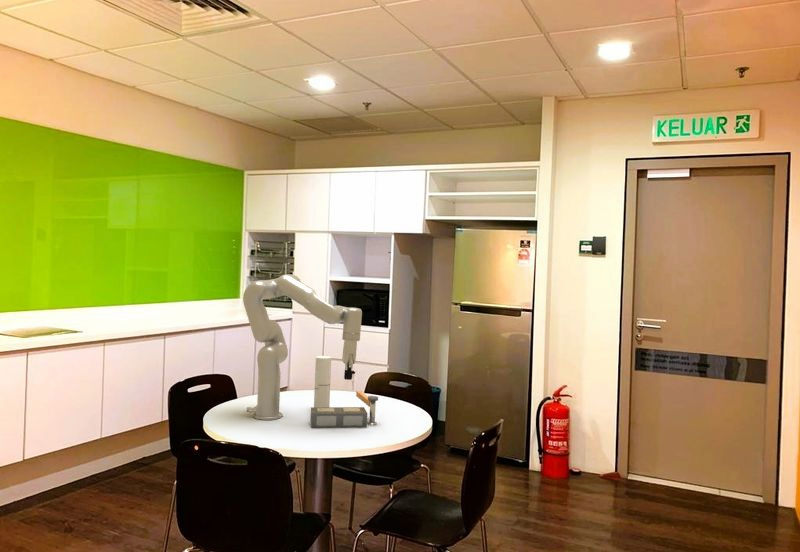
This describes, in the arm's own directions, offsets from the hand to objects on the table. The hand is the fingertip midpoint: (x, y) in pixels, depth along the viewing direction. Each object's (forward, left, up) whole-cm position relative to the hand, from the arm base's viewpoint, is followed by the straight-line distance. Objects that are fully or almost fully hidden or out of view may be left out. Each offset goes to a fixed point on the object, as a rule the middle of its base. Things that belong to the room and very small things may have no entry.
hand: (347, 379), depth 259 cm
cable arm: (+9, +9, -12) cm, 18 cm away
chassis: (-4, -2, -19) cm, 19 cm away
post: (+11, -2, -19) cm, 22 cm away
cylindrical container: (-9, +22, -19) cm, 31 cm away
